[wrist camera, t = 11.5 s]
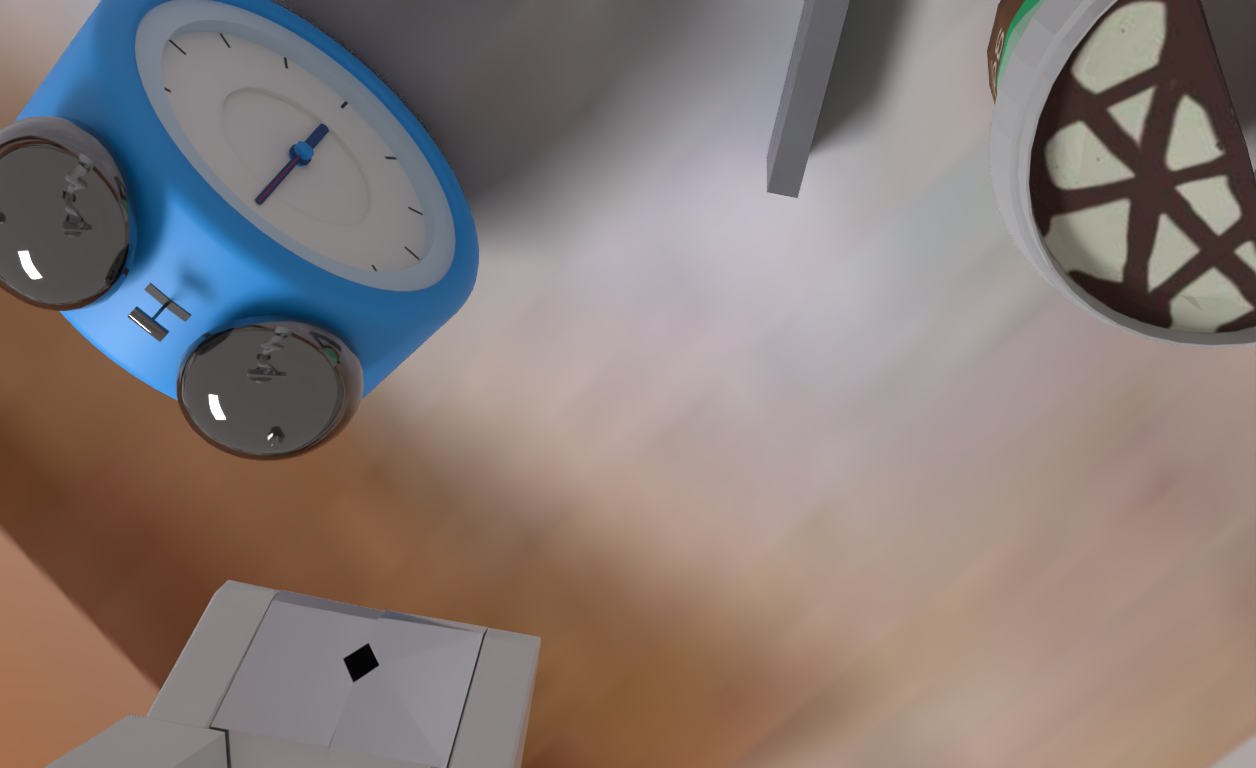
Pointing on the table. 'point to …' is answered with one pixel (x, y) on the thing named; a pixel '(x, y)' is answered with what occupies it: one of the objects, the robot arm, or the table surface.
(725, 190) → the table surface
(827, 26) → the metal dock
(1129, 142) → the food container
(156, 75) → the alarm clock
